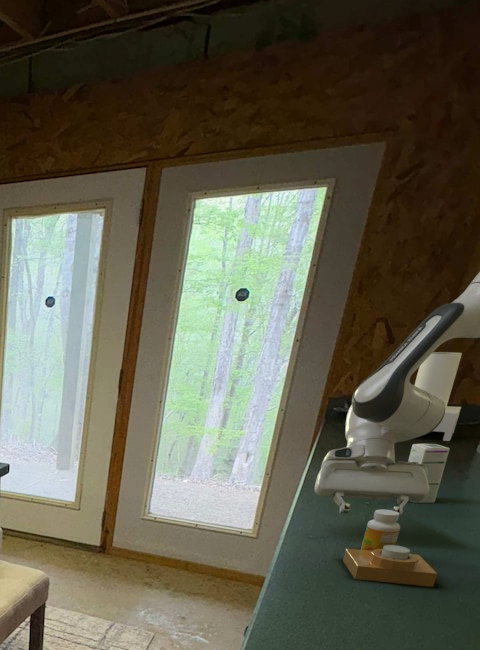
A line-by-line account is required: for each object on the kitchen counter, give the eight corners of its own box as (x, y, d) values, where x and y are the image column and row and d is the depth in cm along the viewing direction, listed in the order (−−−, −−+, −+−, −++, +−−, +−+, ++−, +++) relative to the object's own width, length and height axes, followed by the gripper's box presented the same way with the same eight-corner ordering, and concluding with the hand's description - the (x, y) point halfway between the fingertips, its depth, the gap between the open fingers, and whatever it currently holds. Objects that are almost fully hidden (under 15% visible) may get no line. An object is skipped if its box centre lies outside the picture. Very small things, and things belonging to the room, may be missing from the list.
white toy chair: (453, 433, 241) (477, 351, 230) (449, 441, 228) (475, 355, 217) (392, 428, 253) (412, 351, 242) (385, 436, 240) (406, 354, 229)
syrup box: (435, 503, 162) (452, 447, 157) (410, 502, 163) (425, 447, 158) (422, 497, 167) (437, 443, 162) (397, 496, 168) (411, 443, 163)
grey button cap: (403, 554, 119) (406, 546, 118) (410, 562, 116) (413, 553, 115) (378, 552, 121) (380, 544, 120) (384, 559, 117) (386, 551, 117)
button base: (414, 569, 123) (421, 546, 122) (433, 590, 115) (441, 565, 113) (342, 563, 128) (347, 540, 126) (354, 582, 119) (360, 557, 117)
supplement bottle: (354, 551, 134) (365, 507, 130) (383, 552, 132) (395, 508, 129) (367, 560, 129) (379, 515, 125) (397, 561, 128) (409, 516, 124)
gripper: (420, 470, 140) (423, 524, 135) (313, 465, 148) (312, 516, 143) (433, 454, 134) (436, 510, 130) (321, 450, 142) (320, 503, 138)
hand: (370, 514), depth 136 cm, fingers open, 8 cm apart
